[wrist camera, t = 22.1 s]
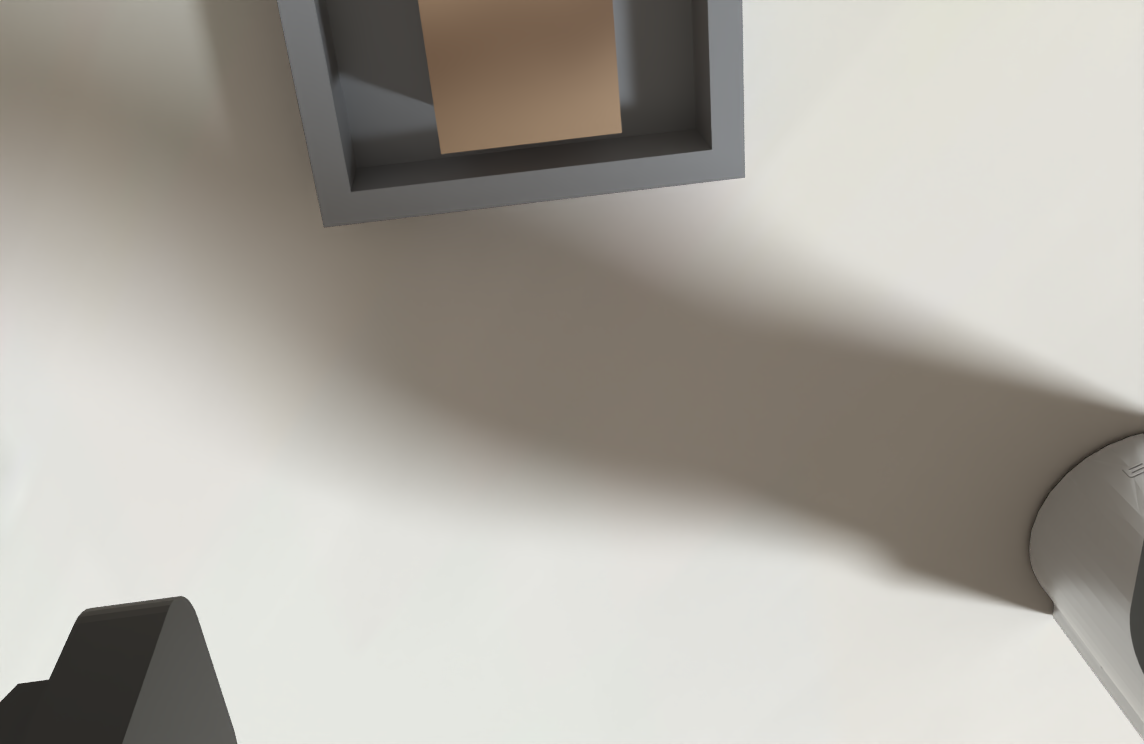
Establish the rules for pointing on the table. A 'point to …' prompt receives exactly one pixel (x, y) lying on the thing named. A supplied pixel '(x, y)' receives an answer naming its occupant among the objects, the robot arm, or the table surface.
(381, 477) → the table surface
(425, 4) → the walnut cube
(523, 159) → the collection tray
